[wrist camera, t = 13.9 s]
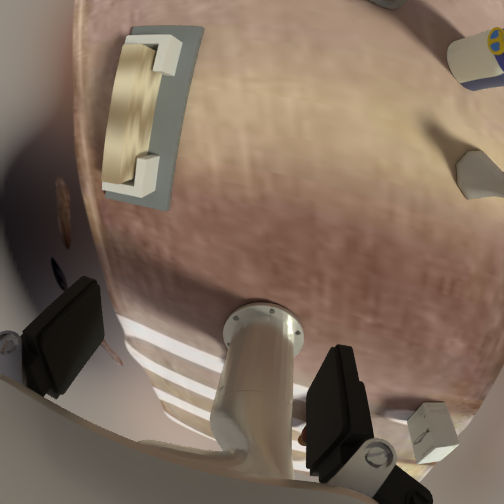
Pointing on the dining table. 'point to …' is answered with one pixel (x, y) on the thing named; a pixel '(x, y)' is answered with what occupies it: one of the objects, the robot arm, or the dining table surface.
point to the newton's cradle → (389, 3)
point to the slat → (130, 113)
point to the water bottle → (478, 60)
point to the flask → (479, 176)
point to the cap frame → (162, 114)
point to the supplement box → (432, 432)
